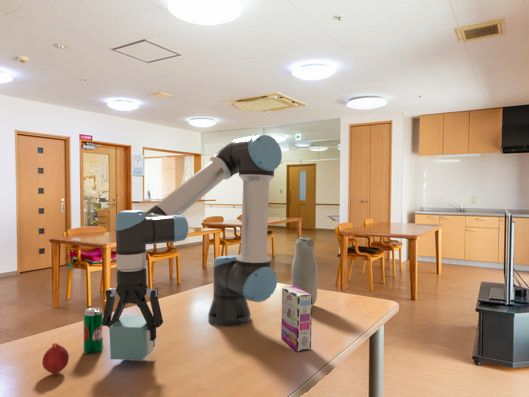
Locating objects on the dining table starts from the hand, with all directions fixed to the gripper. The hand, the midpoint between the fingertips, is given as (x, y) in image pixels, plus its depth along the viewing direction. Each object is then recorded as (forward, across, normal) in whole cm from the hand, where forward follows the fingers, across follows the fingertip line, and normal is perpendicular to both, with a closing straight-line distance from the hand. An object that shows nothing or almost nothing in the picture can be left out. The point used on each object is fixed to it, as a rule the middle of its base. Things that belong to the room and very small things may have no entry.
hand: (133, 351), depth 103 cm
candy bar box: (+4, -44, -18) cm, 47 cm away
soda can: (+3, +14, -6) cm, 16 cm away
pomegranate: (+3, +16, +8) cm, 19 cm away
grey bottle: (+5, -46, -56) cm, 73 cm away
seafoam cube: (0, 0, 0) cm, 0 cm away
